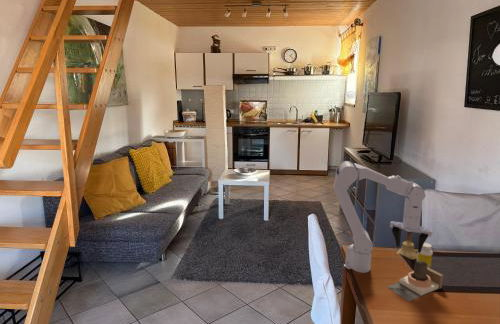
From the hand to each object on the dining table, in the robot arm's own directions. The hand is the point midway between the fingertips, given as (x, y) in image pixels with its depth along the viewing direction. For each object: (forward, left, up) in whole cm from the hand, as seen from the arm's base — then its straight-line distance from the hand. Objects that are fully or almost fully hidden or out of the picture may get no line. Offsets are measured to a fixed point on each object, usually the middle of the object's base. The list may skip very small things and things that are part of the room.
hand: (408, 248), depth 129 cm
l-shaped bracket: (+9, -7, -10) cm, 15 cm away
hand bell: (-10, +13, -11) cm, 20 cm away
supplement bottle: (0, +10, -11) cm, 15 cm away
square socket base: (+9, -5, -9) cm, 14 cm away
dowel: (+9, -4, -8) cm, 13 cm away
